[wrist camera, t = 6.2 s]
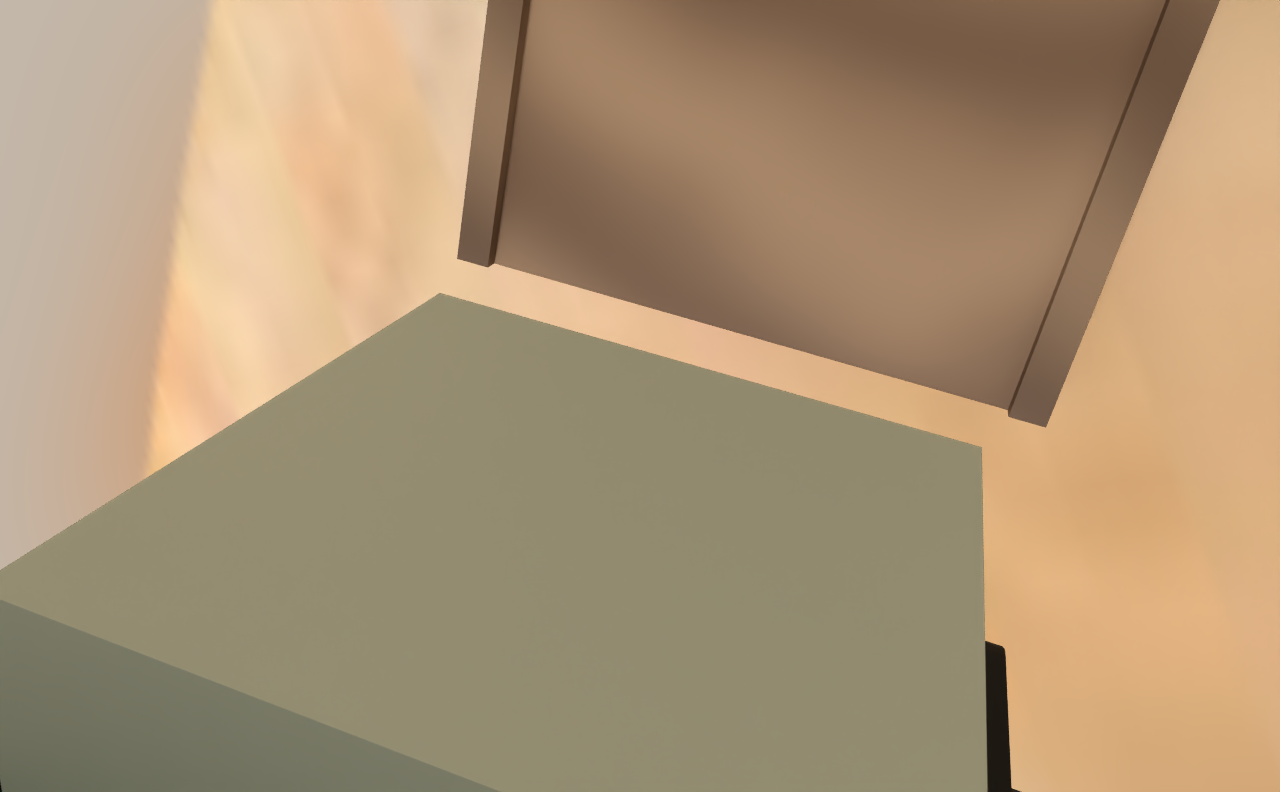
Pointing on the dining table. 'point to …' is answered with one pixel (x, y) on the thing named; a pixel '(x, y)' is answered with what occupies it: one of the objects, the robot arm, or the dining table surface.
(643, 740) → the sage block
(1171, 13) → the board
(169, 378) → the dining table surface
